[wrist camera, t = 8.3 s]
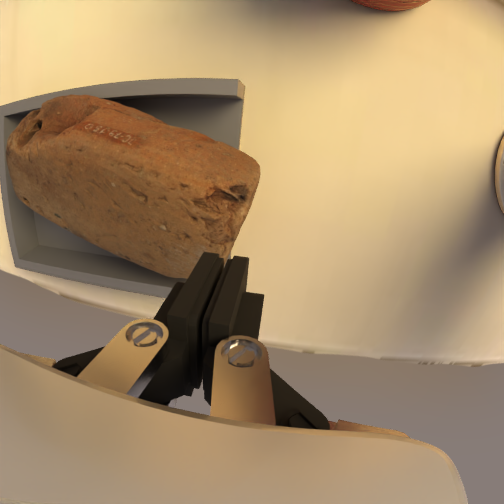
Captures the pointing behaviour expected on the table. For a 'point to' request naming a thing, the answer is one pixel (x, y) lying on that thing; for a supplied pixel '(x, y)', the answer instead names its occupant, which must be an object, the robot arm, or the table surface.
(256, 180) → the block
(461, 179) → the table surface
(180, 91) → the tray
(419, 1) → the canister
